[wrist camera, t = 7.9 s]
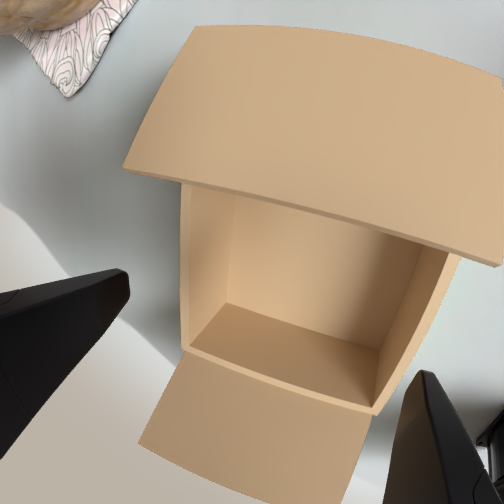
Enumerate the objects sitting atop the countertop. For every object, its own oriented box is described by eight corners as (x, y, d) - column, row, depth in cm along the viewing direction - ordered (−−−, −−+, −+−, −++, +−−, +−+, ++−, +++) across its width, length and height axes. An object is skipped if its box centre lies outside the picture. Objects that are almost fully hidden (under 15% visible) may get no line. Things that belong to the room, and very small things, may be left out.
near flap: (199, 33, 12) (195, 26, 11) (497, 86, 8) (501, 78, 8) (129, 172, 11) (121, 167, 10) (494, 267, 7) (501, 265, 7)
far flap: (372, 414, 16) (370, 416, 17) (185, 350, 20) (187, 353, 20) (332, 520, 13) (331, 519, 13) (137, 443, 16) (140, 443, 17)
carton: (384, 352, 21) (377, 416, 16) (222, 301, 25) (181, 348, 20) (466, 95, 13) (503, 88, 8) (246, 52, 17) (193, 34, 12)
